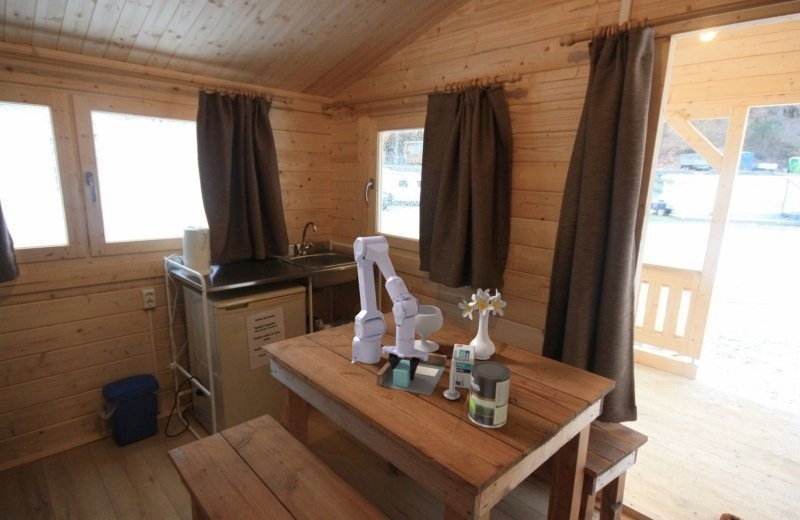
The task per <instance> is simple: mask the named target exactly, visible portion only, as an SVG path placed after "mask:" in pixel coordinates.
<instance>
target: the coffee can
mask: <svg viewBox="0 0 800 520" xmlns="http://www.w3.org/2000/svg"><path fill="white" fill-rule="evenodd" d="M471 371H472V372H471V388H470V391H469V404H468V405H469V406H468V407H469V408H468V418H469V420H470V421H471V422H472V423H473V424H475V425H477V426H479V427H483V428H486V429H496V428H497V429H498V428H501V427H503V426H504V425H505V424H506V423H507V415H508V404H509V392H510V384H511V383H510V380H511V376H512V370H511V369H510V368H509V367H508V366H506V365H505V364H503V363H500V362H497V361H491V360H490V361H489V360H481V361H480V360H479V361H477V362H474V364H473V365H472V366H471Z"/></svg>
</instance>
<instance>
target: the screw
mask: <svg viewBox="0 0 800 520" xmlns="http://www.w3.org/2000/svg"><path fill="white" fill-rule="evenodd" d="M455 366H456V360H455V359H452V358H451V360H450V368H449V383H448V389H445V391H443V394H442V395H443V396H444V398H446V399H448V400H451V401H453V400H457V399H459V398H460V397H461V393H460V392H459V391H458V390H456V387H455V385H456V384H455V383H456V382H455V381H456V380H455V379H456V367H455Z"/></svg>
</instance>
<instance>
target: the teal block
mask: <svg viewBox="0 0 800 520" xmlns="http://www.w3.org/2000/svg"><path fill="white" fill-rule="evenodd" d="M414 377H415V376H414ZM410 383H411V381H410V361H408V360H401V361H400V362H399V364H398V365H397V366H396V367H395V369H394V370H393V385H394V386H400V387H405V388H407V387H408V386H409V384H410Z"/></svg>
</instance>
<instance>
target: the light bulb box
mask: <svg viewBox="0 0 800 520" xmlns="http://www.w3.org/2000/svg"><path fill="white" fill-rule="evenodd" d="M453 346H454V347H453V352H452V357H451V360H452V359H455V360H456V366H455V367H456V379H455V380H456V381H455V382H456V383H455V384H456V385H455V388H461V389H462V388H463V389H468V392H470V388H471V372H472V371H471V366H472V365H473V364H474V363H475V358H474V356H475V346H470V345H469V344H459V343H455V344H454V345H453Z"/></svg>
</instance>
